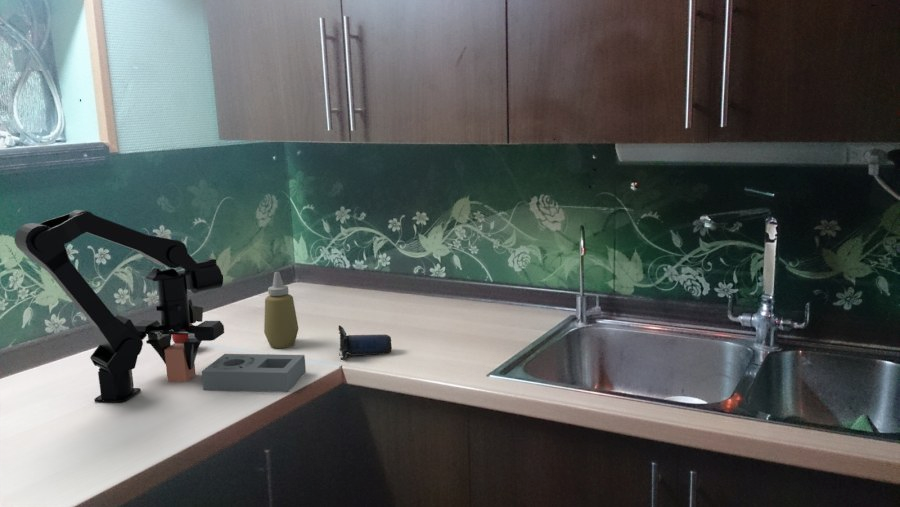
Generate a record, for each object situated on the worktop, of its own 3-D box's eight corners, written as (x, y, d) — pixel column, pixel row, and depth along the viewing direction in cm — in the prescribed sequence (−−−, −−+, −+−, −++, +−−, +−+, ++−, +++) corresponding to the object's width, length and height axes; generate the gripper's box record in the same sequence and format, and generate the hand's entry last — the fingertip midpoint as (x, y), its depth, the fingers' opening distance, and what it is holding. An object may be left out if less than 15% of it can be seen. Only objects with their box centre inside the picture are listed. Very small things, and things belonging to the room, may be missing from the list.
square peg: (186, 381, 158) (183, 349, 157) (167, 381, 159) (164, 349, 158) (195, 374, 162) (192, 343, 161) (177, 374, 163) (174, 343, 162)
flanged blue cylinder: (340, 368, 168) (393, 364, 171) (341, 337, 165) (394, 334, 168) (335, 348, 176) (386, 346, 179) (336, 319, 174) (387, 316, 177)
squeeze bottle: (258, 348, 179) (252, 274, 176) (280, 338, 186) (275, 267, 183) (284, 352, 176) (278, 277, 172) (306, 342, 183) (301, 270, 179)
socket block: (288, 391, 151) (286, 372, 150) (203, 389, 153) (201, 371, 152) (305, 372, 161) (304, 354, 161) (226, 371, 164) (224, 353, 163)
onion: (191, 354, 176) (188, 322, 174) (169, 354, 177) (165, 321, 176) (204, 347, 182) (200, 315, 180) (182, 346, 183) (179, 314, 181)
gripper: (231, 288, 164) (238, 357, 167) (151, 288, 166) (159, 355, 169) (209, 301, 153) (216, 374, 156) (123, 301, 156) (132, 373, 159)
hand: (180, 368), depth 160 cm, fingers closed on square peg, 4 cm apart
